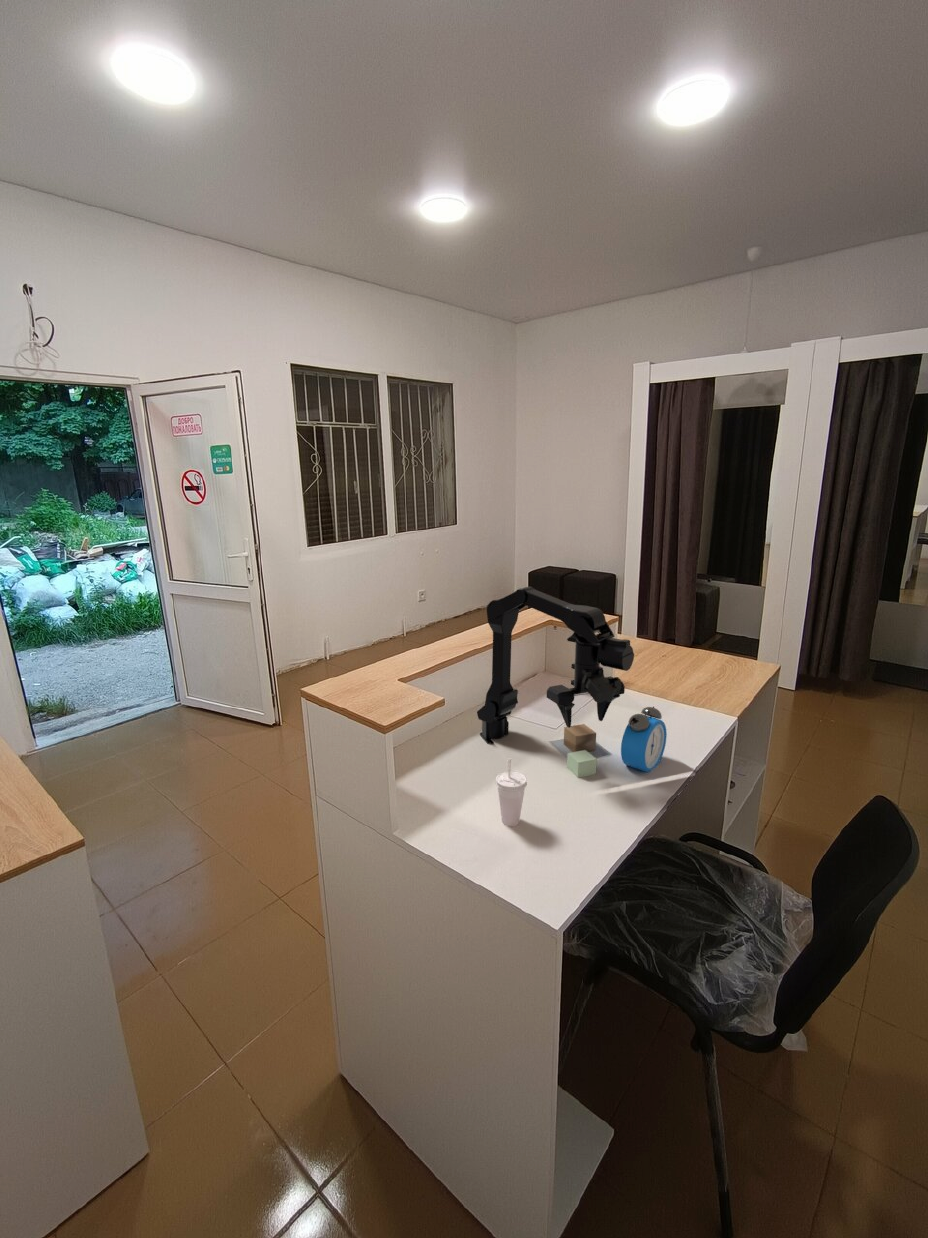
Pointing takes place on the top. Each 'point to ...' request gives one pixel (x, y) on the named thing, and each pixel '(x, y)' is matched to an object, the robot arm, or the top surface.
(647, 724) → the alarm clock
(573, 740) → the walnut block
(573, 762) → the sage cube
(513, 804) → the smoothie
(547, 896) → the top surface
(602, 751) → the mat
